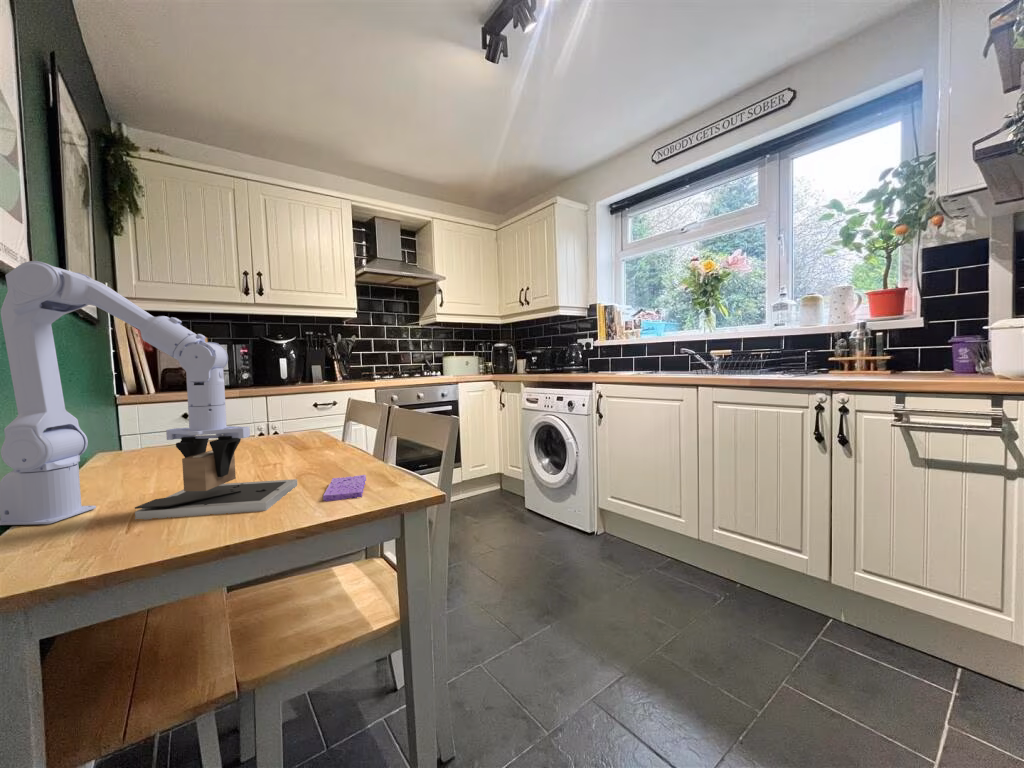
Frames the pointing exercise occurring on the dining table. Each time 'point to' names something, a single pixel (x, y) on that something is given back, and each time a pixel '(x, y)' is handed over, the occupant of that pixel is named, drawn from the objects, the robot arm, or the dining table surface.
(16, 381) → the robot arm
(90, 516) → the dining table surface
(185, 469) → the walnut block
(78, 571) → the dining table surface
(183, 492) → the picture frame
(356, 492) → the sponges
